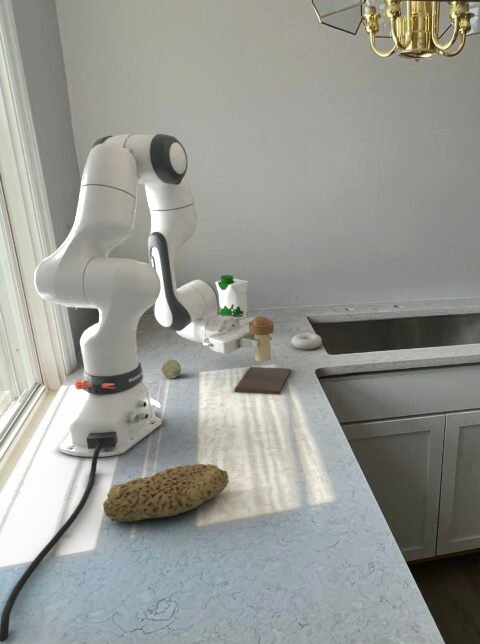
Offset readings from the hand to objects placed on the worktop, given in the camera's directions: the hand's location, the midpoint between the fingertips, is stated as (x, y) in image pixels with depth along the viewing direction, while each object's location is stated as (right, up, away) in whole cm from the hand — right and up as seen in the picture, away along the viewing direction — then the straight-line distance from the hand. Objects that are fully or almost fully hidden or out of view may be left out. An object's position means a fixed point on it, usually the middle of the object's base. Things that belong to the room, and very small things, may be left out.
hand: (264, 340), depth 151 cm
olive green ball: (-27, -10, +6) cm, 30 cm away
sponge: (-7, -33, -49) cm, 59 cm away
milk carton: (-20, +5, +43) cm, 48 cm away
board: (-1, -11, +5) cm, 12 cm away
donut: (+7, 0, +32) cm, 33 cm away
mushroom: (-1, -5, +2) cm, 6 cm away
